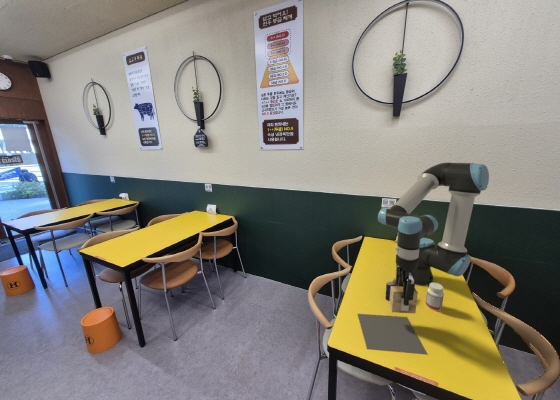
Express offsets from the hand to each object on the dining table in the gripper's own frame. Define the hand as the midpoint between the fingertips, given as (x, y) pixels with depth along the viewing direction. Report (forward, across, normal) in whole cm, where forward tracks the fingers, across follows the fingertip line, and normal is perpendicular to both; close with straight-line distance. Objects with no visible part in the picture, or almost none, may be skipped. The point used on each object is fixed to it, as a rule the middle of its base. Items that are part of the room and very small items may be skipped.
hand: (402, 306), depth 92 cm
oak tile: (+2, 0, 0) cm, 2 cm away
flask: (+9, -16, +2) cm, 19 cm away
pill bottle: (+9, -11, +18) cm, 23 cm away
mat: (+8, +6, -7) cm, 12 cm away
